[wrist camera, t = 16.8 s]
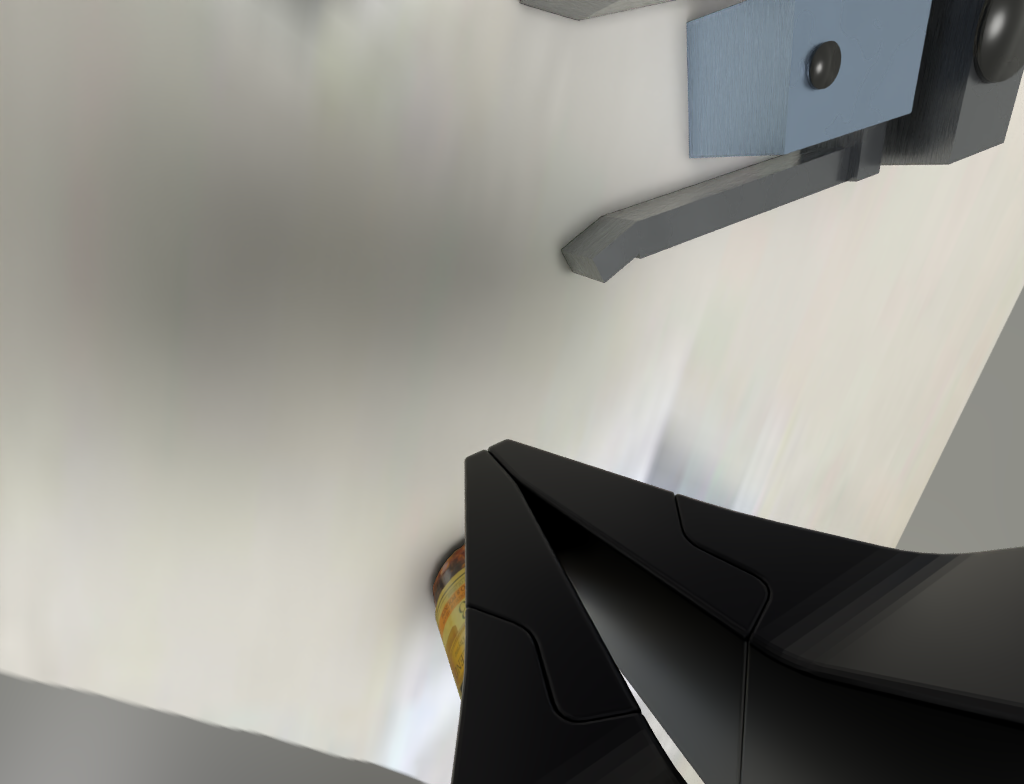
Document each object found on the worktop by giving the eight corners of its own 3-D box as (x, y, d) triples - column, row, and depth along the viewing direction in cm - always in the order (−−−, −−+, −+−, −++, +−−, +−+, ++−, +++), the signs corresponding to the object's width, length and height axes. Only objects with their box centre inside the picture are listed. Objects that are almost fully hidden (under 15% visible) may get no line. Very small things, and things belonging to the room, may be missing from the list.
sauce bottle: (496, 505, 25) (921, 1163, 8) (549, 562, 28) (923, 1105, 12) (397, 588, 24) (644, 1468, 8) (463, 636, 28) (731, 1314, 11)
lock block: (684, 23, 19) (802, -20, 15) (809, -4, 21) (947, -50, 17) (687, 157, 22) (789, 154, 17) (799, 123, 23) (916, 112, 19)
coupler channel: (512, -40, 16) (603, -122, 11) (935, -109, 21) (1105, -182, 17) (564, 275, 21) (639, 302, 17) (891, 154, 27) (1011, 151, 22)
